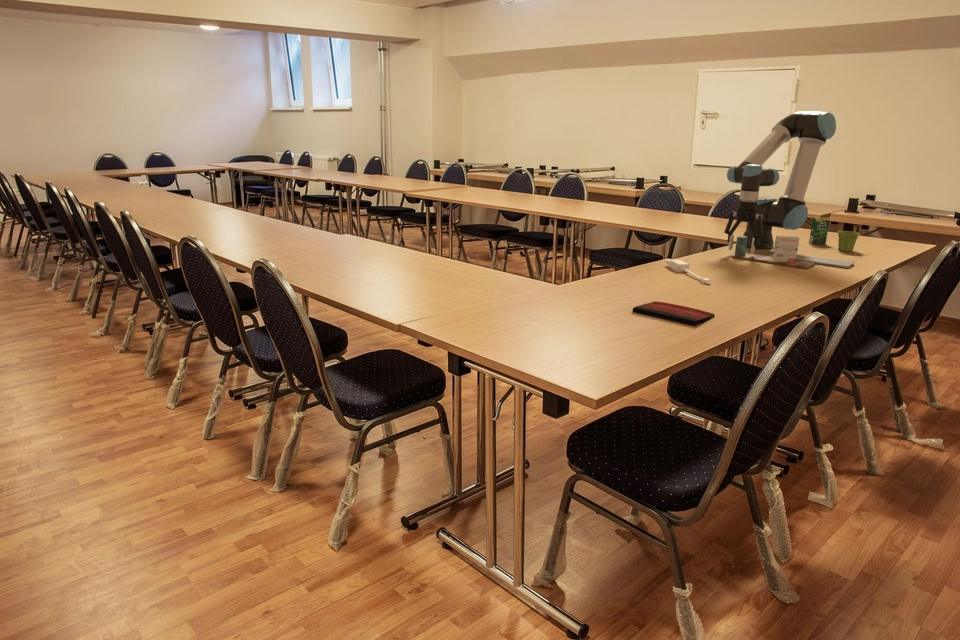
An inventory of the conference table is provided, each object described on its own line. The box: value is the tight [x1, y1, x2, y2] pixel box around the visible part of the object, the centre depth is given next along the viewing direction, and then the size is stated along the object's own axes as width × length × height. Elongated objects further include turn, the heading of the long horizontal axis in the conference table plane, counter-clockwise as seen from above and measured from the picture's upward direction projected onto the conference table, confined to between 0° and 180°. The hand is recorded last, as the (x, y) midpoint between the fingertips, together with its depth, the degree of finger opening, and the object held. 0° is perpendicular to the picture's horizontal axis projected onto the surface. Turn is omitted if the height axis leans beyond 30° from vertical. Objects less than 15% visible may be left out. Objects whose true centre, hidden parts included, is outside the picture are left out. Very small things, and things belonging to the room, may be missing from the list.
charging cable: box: [665, 259, 712, 285], centre depth 260 cm, size 5×32×3 cm, turn 10°
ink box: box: [772, 234, 800, 263], centre depth 284 cm, size 9×5×12 cm, turn 78°
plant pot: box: [837, 230, 861, 252], centre depth 317 cm, size 9×9×9 cm
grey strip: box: [769, 238, 855, 269], centre depth 291 cm, size 32×11×9 cm, turn 50°
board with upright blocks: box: [730, 235, 816, 269], centre depth 288 cm, size 32×11×9 cm, turn 50°
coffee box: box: [808, 217, 831, 245], centre depth 332 cm, size 8×3×13 cm, turn 100°
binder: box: [632, 301, 716, 328], centre depth 208 cm, size 16×2×21 cm
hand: (741, 251), depth 297 cm, fingers open, 9 cm apart
